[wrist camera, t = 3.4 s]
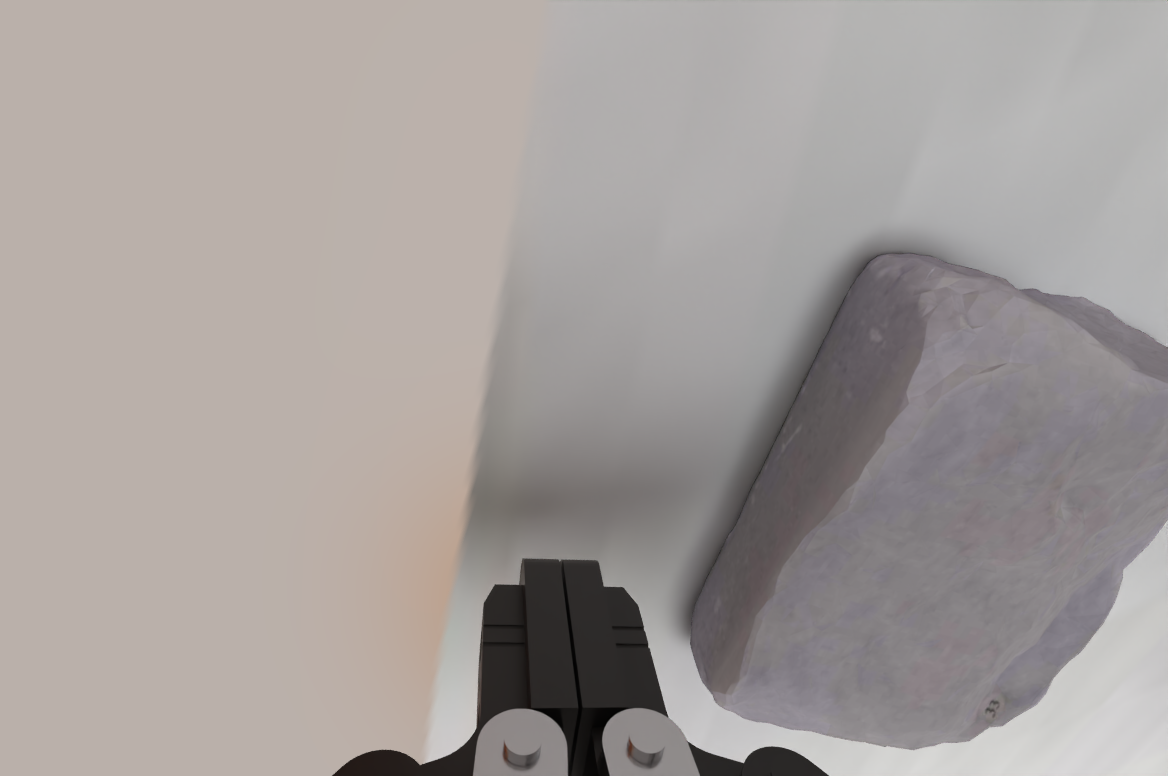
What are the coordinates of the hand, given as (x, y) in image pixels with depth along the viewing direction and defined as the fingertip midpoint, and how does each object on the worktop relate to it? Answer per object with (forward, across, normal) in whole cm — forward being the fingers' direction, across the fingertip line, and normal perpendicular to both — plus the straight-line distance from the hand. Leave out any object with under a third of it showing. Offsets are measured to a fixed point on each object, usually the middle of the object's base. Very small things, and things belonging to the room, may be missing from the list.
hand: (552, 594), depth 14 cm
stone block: (+4, -10, -1) cm, 11 cm away
